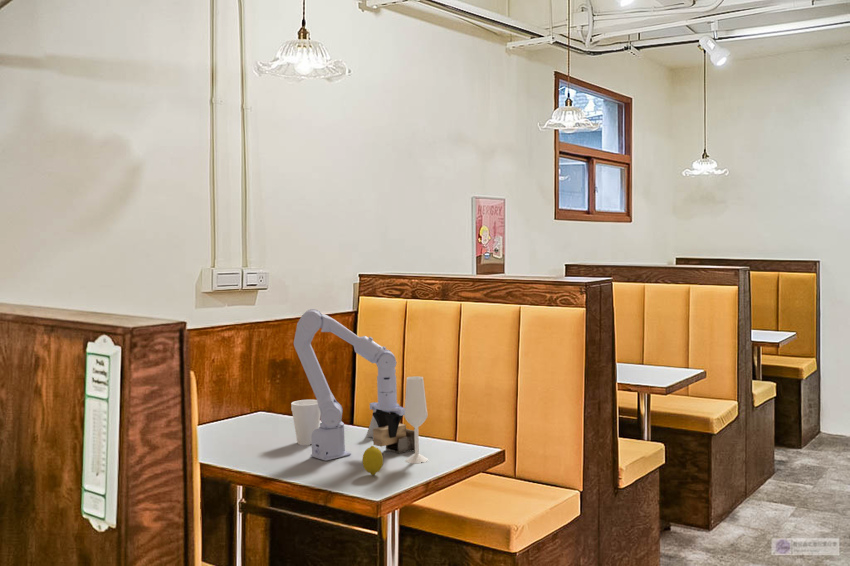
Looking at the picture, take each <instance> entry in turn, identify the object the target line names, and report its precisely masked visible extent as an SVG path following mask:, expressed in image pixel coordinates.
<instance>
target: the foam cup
mask: <svg viewBox="0 0 850 566" xmlns="http://www.w3.org/2000/svg"><path fill="white" fill-rule="evenodd" d="M290 405H291V407H290V409H291V412H292V419H293V425H294V430H295V437H296V442H297V444H298V445H300V446H310V445H309V444H312V432H313V431H314V430H316V429H318V428H319V427H320V423H321V419H320V414H321V413H320V409H319V406H318V402H317V399H301V400H295V401H292V402H291V403H290Z"/></svg>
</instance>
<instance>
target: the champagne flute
mask: <svg viewBox="0 0 850 566" xmlns="http://www.w3.org/2000/svg"><path fill="white" fill-rule="evenodd" d="M426 398H427V397H426V391H425V382H424V376H417V375H416V376H407V377H406V385H405V400H404V408H405V413H404V415H403V417H404V419H405V420H406V421H407V423H408V424H410V425H411V427H413V429H414V437H415V451H414V454H412V455H411V456H410V457H408V458H406V460H405V462H406V463H408V462H409V464H422V463H421V462H424V463H427V462H428V461H429V460H428V459H429V458H427V457H425V455H423V454H421V453H420V443H419V440H420V439H419V427H421V426H422V425H423V423H425V421H426V420H427V418H428V409H427V407H428V406H427V399H426ZM427 460H428V461H427ZM426 461H427V462H426Z"/></svg>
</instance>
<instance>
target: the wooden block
mask: <svg viewBox="0 0 850 566" xmlns="http://www.w3.org/2000/svg"><path fill="white" fill-rule="evenodd" d="M406 429H407V424H403V423H401V422H400V423H399V426H398V430H397V434H396V437H393V438H390V437H389V431H388V426H383V427H379V428H374V429H373V437H372V438H373V439H372V441H373V445H372V446H378V447H381V448H382V447H386V445H390V444H394V443H398V439H399V438H403V437H406Z"/></svg>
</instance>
